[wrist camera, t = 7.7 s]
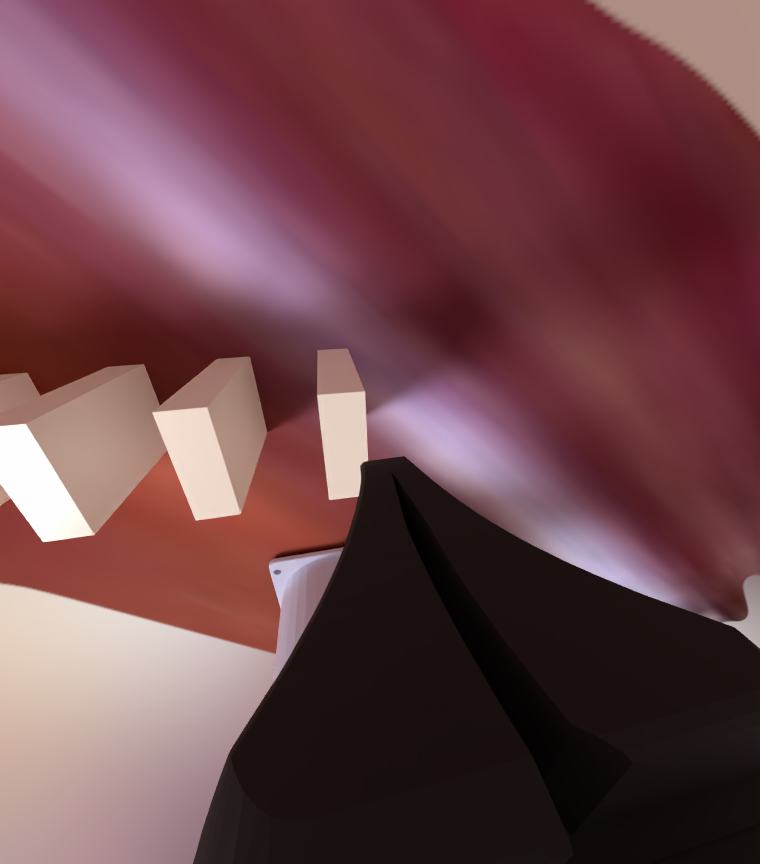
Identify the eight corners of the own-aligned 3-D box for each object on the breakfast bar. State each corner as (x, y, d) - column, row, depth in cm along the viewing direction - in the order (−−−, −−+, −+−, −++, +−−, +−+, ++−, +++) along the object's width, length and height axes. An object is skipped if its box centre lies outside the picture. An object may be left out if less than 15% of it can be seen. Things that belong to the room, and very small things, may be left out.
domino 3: (352, 422, 19) (369, 494, 12) (325, 424, 18) (329, 500, 12) (347, 348, 17) (365, 391, 10) (317, 350, 16) (317, 395, 10)
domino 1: (174, 442, 17) (94, 534, 11) (142, 445, 17) (43, 542, 11) (143, 364, 15) (25, 423, 9) (107, 366, 15) (-40, 430, 9)
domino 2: (267, 432, 18) (240, 514, 12) (238, 435, 18) (195, 520, 12) (249, 356, 16) (207, 406, 10) (217, 358, 16) (152, 412, 9)
